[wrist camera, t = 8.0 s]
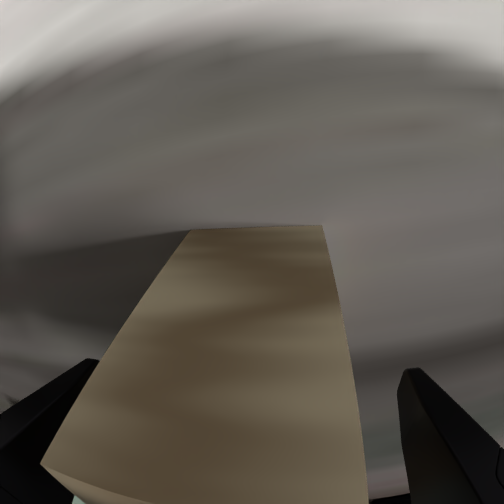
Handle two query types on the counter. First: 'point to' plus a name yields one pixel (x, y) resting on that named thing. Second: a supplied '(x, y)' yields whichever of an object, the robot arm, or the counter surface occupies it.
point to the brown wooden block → (223, 383)
